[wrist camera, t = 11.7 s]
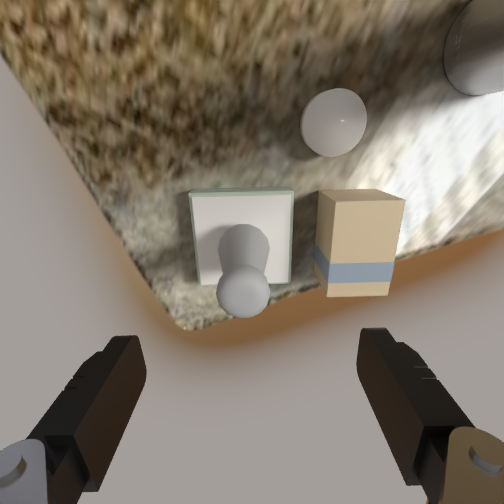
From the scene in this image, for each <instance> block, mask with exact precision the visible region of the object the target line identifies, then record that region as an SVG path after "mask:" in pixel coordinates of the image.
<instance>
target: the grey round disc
mask: <svg viewBox="0 0 504 504" xmlns="http://www.w3.org/2000/svg"><path fill="white" fill-rule="evenodd" d="M366 124H367V113H366V108H365V105H364V103H363V101H362V100H361V98H360V97H359V96H358V95H357V94H356V93H354V92H353V91H350V90H348V89H344V88H336V89H331V90H327V91H324V92H321V93H319V94H317V95H316V96H314V97H313V98H312V99H311V100H310V101H309V102H308V103H307V105H306V106H305V108H304V110H303V112H302V115H301V119H300V132H301V136H302V138H303V140H304V142H305V143H306V145H307V146H308V147H309V148H311V149H312V150H313V151H315V152H316V153H318V154H320V155H322V156H326V157H336V156H340V155H343V154H345V153H347V152H349V151H350V150H351V149H353V148H354V147H355V146H356V145H357V144H358V142H359V141H360V139H361V138H362V136H363V134H364V131H365V128H366Z"/></svg>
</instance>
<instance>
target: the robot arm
mask: <svg viewBox="0 0 504 504" xmlns="http://www.w3.org/2000/svg"><path fill="white" fill-rule="evenodd" d="M444 68H445V71H446V75H447V77H448V79H449V81H450V82H451V84H452V85H453V86H454V87H455V88H456V89H457V90H459V91H460V92H462V93H464V94H468V95H485V94H490V93H495V92H500V91H504V0H472V1H471V2H469V3H468V5H467V6H466V7H465V8H464V9H463V10H462V11H461V12H460V14H459V15H458V17H457V18H456V20H455V21H454V23H453V25H452V27H451V29H450V31H449V33H448V37H447V40H446V44H445V49H444ZM356 364H357V373H358V377H359V380H360V382H361V384H362V386H363V389H364V391H365V393H366V395H367V398H368V400H369V402H370V404H371V407H372V409H373V411H374V413H375V416H376V418H377V420H378V422H379V425H380V427H381V429H382V431H383V433H384V436H385V438H386V440H387V443H388V445H389V447H390V449H391V452H392V454H393V456H394V458H395V460H396V463H397V465H398V467H399V470H400V471H401V474H402V476H403V479H404V481H405V483H406V485H407V486H411V485H422V487H423V489H424V491H425V493H426V495H427V502H426V504H504V442H502V441H501V440H499V439H498V438H496V437H495V436H493V435H491V434H489V433H487V432H485V431H483V430H480V429H477V428H476V427H475V426H474V425H473V424H472V423H471V421H470V420H469V419H468V417H467V416H466V415H465V413H464V412H463V411H462V410H461V408H460V407H459V406H458V404H457V403H456V402H455V401H454V399H453V398H452V397H451V396H450V394H449V393H448V392H447V390H446V389H445V388H444V386H443V385H442V384H441V382H440V381H439V380H437V379H436V376H435V375H434V373H433V372H432V371H431V369H428V366H427V364H426V363H425V362H424V360H423V359H422V358H421V357H420V355H419V354H418V353H417V352H416V351H414V350H413V349H412V348H410V347H409V346H408V345H406V344H405V343H404V342H396V341H395V340H394V338H393V337H392V335H391V334H390V333H389V331H388V330H387V329H386V328H363V329H362V330H361V333H360V339H359V347H358V355H357V363H356ZM145 381H146V365H145V361H144V357H143V353H142V349H141V345H140V341H139V338H138V336H136V335H133V336H131V335H130V336H115V337H113V338H112V339H111V340H110V342H109V343H108V344H107V346H106V347H105V348H104V350H103V351H101V352H96V353H95V354H94V355H93V356H91V357H90V358H89V359H88V360H86V361H85V362H84V363H83V364H82V365H81V366H80V368H79V369H78V370H77V372H76V373H75V375H74V376H73V379H71V380H70V381H69V382H68V384H67V385H66V386H65V389H64V391H62V392H61V393H60V395H59V396H58V397H57V398H56V400H55V401H54V403H53V404H52V405H51V406H50V408H49V409H48V410H47V412H46V413H45V414H44V416H43V417H42V418H41V420H40V421H39V422H38V424H37V425H36V427H35V428H34V429H33V430H32V432H31V433H30V435H29V436H28V437H27V438H26V439H25V440H22V441H19V442H16V443H14V444H11V445H9V446H8V447H6V448H4V449H3V450H1V451H0V504H77V502H78V500H79V498H80V496H81V494H82V492H98V491H99V489H100V486H101V484H102V482H103V479H104V477H105V475H106V472H107V470H108V468H109V466H110V463H111V461H112V459H113V456H114V454H115V452H116V449H117V447H118V445H119V443H120V440H121V438H122V436H123V433H124V431H125V428H126V426H127V424H128V422H129V419H130V417H131V415H132V412H133V410H134V408H135V406H136V403H137V401H138V399H139V396H140V394H141V392H142V390H143V387H144V384H145Z"/></svg>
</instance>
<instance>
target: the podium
mask: <svg viewBox="0 0 504 504" xmlns="http://www.w3.org/2000/svg"><path fill="white" fill-rule="evenodd" d="M188 194H189V203H190V212H191V221H192V230H193V240H194V249H195V258H196V267H197V277H198V286H215V285H218V281H219V278H220V277H221V276H222V275H223V273H222V268H221V263H220V258H219V254H218V246H219V241H220V238H221V237H222V236H223V234H224V233H225V232H226V230H227V229H229V228H231V227H233V226H235V225H237V224H250V225H252V226H255V227H257V228H259V229H260V230H261V231H262V232H263V233H264V234H265V236H266V237H267V238H268V242H269V246H270V251H269V255H268V260H267V264H266V268H265V272H264V275H265V276H266V277H267V281H268V284H288V283H291V261H292V234H293V207H294V190H293V189H292V188H291V187H264V188H222V189H192V190H191V191H190V192H189V193H188Z"/></svg>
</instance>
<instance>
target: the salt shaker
mask: <svg viewBox="0 0 504 504" xmlns="http://www.w3.org/2000/svg"><path fill="white" fill-rule="evenodd" d="M269 251H270V246H269V242H268V238H267V237H266V236H265V234H264V233H263V232H262V231H261V230H260V229H259V228H257V227H255V226H252V225H250V224H237V225H235V226H233V227H231V228H229V229H227V230H226V232H225V233H224V234H223V236H222V237H221V238H220V241H219V246H218V254H219V258H220V263H221V268H222V273H223V275H222V276H221V277H220V278H219V281H218V285H217V291H216V296H217V299H218V302H219V305H220V307H221V308H222V309H223V310H224V311H225V312H226V313H227V314H229V315H232V316H234V317H237V318H250V317H252V316H254V315H256V314H259V313H260V312H261V311H262V310H263V309H264V308H265V307H266V306H267V303H268V299H269V294H270V289H269V285H268V281H267V277H266V276H265V275H264V272H265V268H266V264H267V260H268V255H269Z"/></svg>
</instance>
